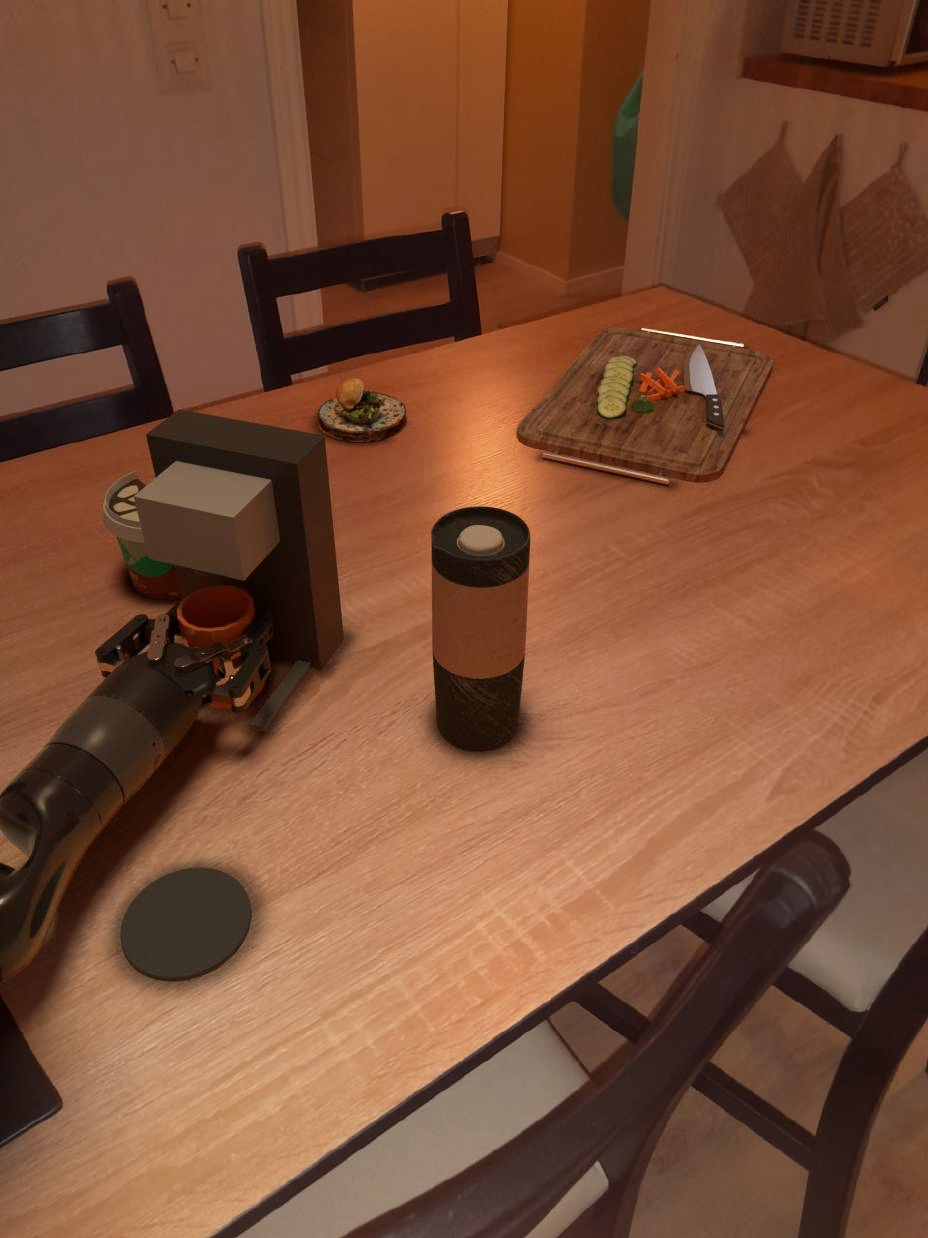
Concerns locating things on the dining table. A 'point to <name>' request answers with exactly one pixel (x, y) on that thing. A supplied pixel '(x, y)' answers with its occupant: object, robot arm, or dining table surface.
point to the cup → (215, 619)
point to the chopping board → (649, 405)
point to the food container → (137, 541)
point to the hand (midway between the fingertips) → (231, 610)
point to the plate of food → (359, 413)
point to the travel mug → (479, 624)
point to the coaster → (186, 924)
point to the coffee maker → (249, 530)
